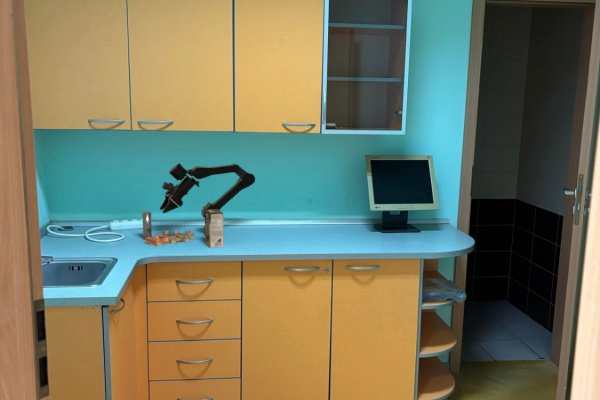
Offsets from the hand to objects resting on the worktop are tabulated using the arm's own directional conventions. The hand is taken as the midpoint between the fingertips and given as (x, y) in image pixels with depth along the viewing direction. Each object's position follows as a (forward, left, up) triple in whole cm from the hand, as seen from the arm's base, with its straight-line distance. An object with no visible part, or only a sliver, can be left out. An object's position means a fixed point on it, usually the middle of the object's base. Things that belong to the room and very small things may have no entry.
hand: (161, 211), depth 280 cm
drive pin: (+6, +4, -13) cm, 15 cm away
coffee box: (-29, +10, -13) cm, 33 cm away
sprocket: (-6, +4, -13) cm, 15 cm away
